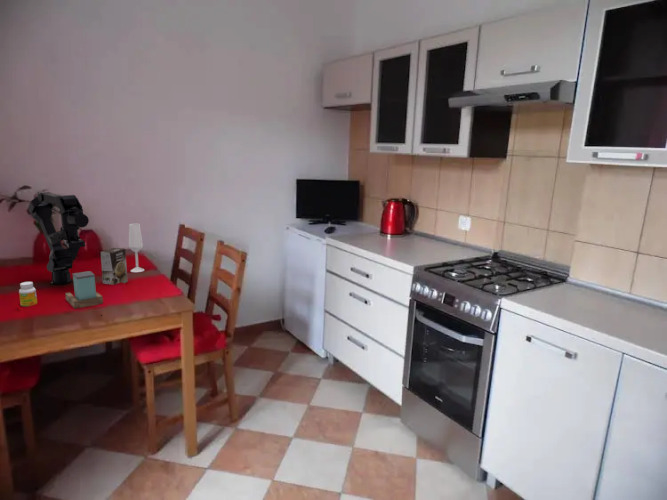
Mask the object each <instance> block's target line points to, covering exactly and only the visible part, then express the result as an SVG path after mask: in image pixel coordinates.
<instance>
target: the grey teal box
mask: <svg viewBox="0 0 667 500" xmlns="http://www.w3.org/2000/svg"><path fill="white" fill-rule="evenodd" d="M71 275H72V282H73V289H74V297H75V298H76V299H77V300H78V301H80V300H85V299H91V298H96V292H97V291H96V290H97V289H96V280H95V279H96V278H95V277H96V275H95V274H94V273H93V271H90V270H89V271H80V272H74V273H72V274H71Z"/></svg>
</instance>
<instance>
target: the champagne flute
mask: <svg viewBox="0 0 667 500" xmlns="http://www.w3.org/2000/svg"><path fill="white" fill-rule="evenodd" d="M142 237H143V236H142V230H141V225H140V223H137V222H135V223H130V224H129V225H128V247H129V249H130V250H131V251H132V252H134V257H135V258H134V259H135V267H134V268H132V269H130V272H131V273H141V272H144V271H145V269H144V268H143V267H140V266H139V255H138V254H139V252H140V251H141V250H142V248H143V247H144V242H143V238H142Z"/></svg>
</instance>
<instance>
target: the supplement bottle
mask: <svg viewBox="0 0 667 500" xmlns="http://www.w3.org/2000/svg"><path fill="white" fill-rule="evenodd" d="M19 286H20V289H18V294H19V302H20V306H21V307H31V306H36V305H37V304H38V297H37V289H36V288H35V287H34V283H33V281H24V282H21V283H19Z"/></svg>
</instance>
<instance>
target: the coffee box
mask: <svg viewBox="0 0 667 500" xmlns="http://www.w3.org/2000/svg"><path fill="white" fill-rule="evenodd" d="M126 252H127V251H126V248H121V247H117V248H116V247H113V248H108V249H105V250H103V251H100V263H101V276H102V284H106V285H117V284H120V283H122V284H125V283H128V282H129V281H128V270H127V253H126Z"/></svg>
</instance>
